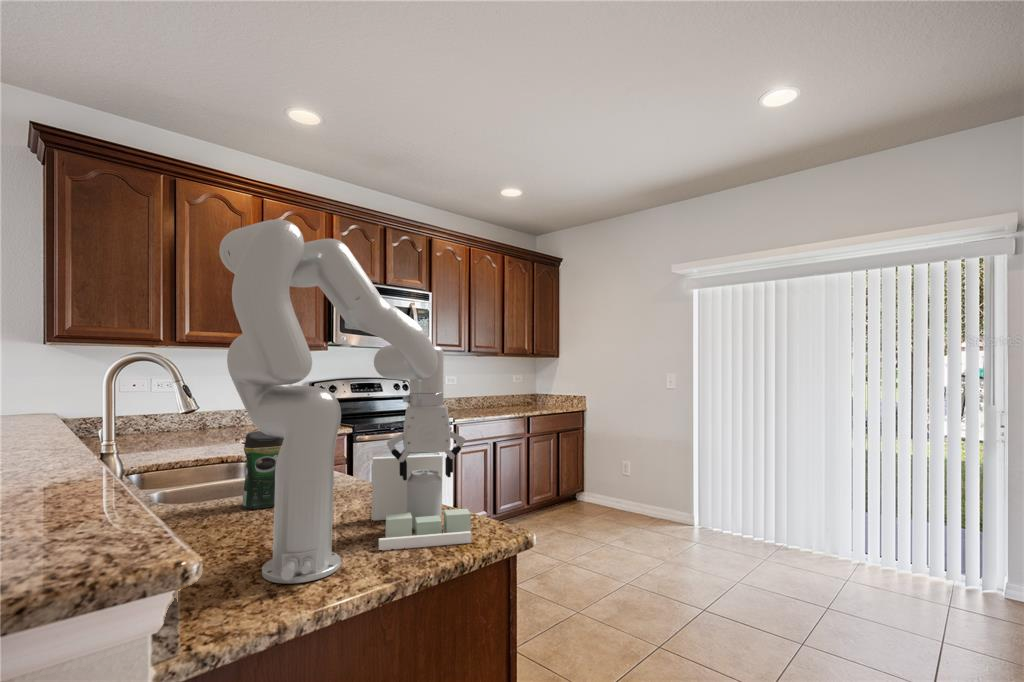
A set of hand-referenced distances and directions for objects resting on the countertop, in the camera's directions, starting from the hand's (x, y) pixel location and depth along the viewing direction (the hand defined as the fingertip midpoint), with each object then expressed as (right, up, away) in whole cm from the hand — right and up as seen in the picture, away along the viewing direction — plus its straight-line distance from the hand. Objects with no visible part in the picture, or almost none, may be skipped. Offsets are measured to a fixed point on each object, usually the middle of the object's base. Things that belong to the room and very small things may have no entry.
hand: (426, 477), depth 114 cm
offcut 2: (+7, -10, -7) cm, 15 cm away
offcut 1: (-4, -10, -10) cm, 15 cm away
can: (-1, -11, -1) cm, 11 cm away
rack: (-1, -10, -3) cm, 11 cm away
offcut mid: (+2, -10, -9) cm, 14 cm away
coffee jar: (-44, -11, +15) cm, 47 cm away
